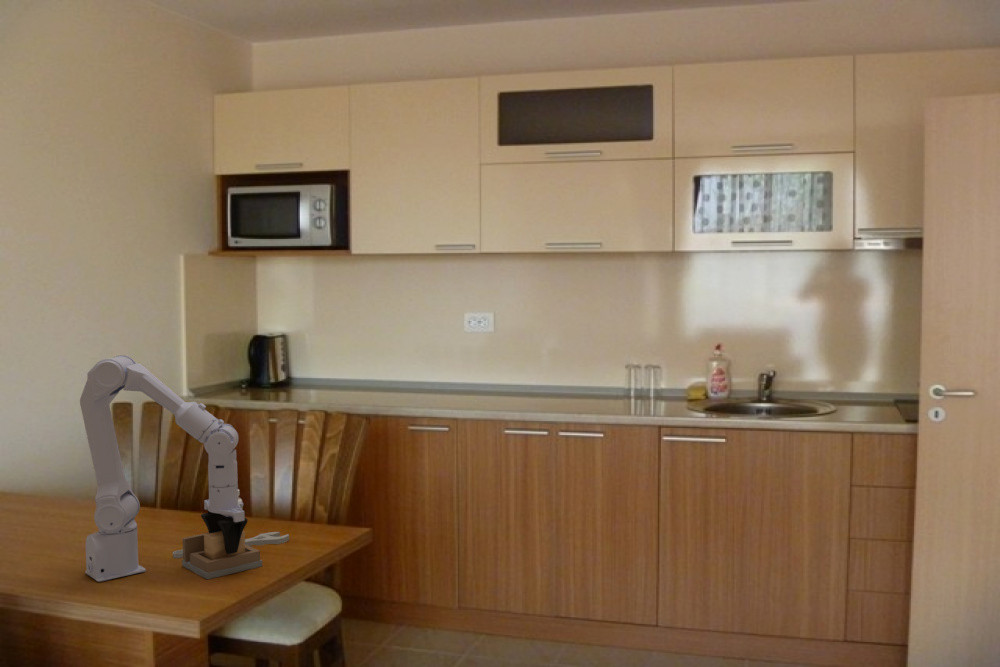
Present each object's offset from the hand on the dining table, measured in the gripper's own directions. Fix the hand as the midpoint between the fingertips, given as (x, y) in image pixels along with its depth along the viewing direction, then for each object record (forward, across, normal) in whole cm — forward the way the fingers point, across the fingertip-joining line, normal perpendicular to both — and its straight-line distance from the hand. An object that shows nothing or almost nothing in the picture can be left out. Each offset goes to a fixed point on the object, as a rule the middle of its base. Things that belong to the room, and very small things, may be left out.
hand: (224, 549), depth 183 cm
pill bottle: (+4, +28, -15) cm, 32 cm away
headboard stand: (+4, +2, 0) cm, 4 cm away
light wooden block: (+3, 0, 0) cm, 3 cm away
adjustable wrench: (+4, +13, -8) cm, 16 cm away
